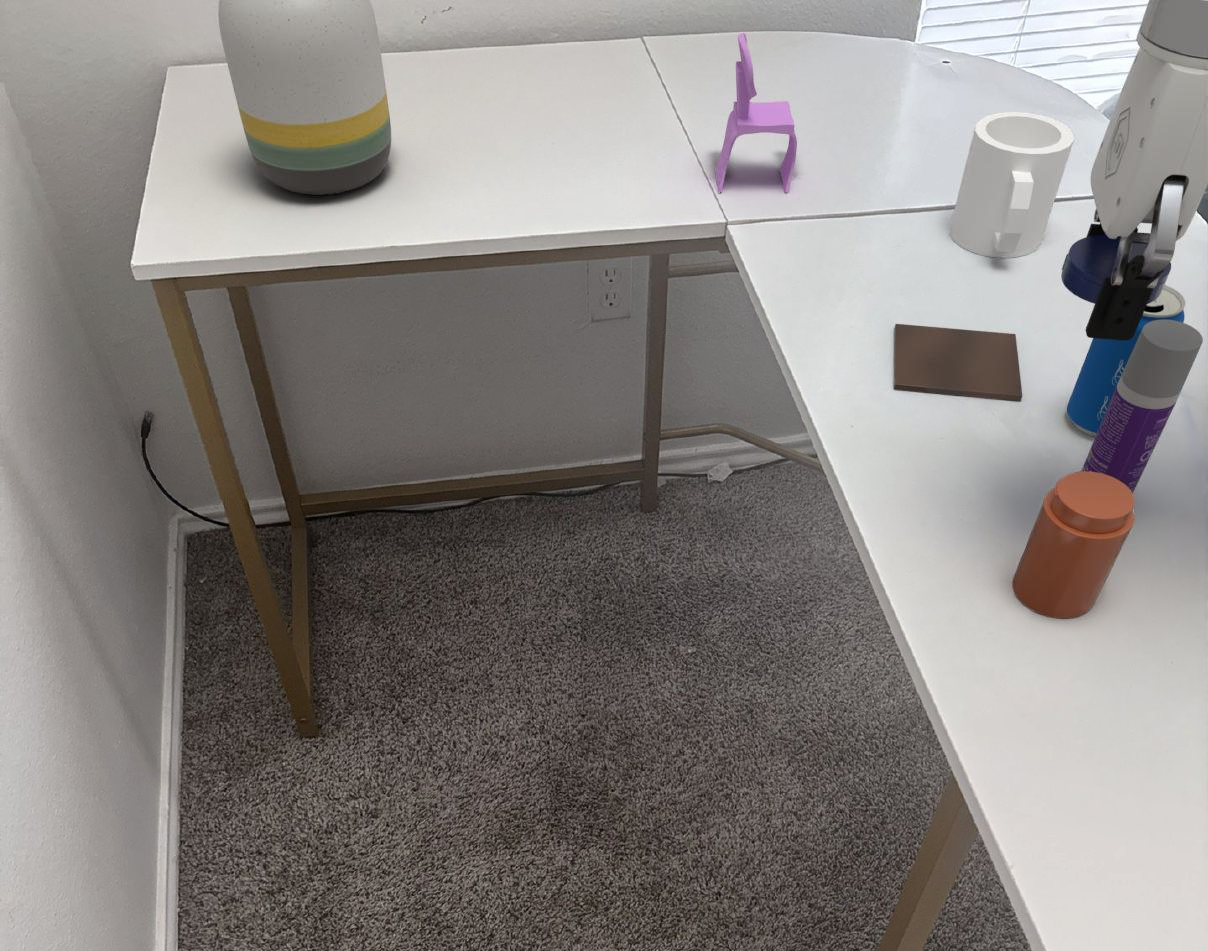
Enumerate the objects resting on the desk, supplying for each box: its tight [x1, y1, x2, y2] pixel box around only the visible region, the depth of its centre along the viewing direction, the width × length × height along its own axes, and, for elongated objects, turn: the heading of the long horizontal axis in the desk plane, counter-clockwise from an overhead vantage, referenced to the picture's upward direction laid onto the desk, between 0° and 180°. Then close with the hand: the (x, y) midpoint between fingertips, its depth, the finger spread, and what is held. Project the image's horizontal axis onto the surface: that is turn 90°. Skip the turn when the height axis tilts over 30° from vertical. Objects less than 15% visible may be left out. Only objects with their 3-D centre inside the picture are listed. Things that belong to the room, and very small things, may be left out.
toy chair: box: [714, 32, 798, 194], centre depth 125 cm, size 8×9×15 cm
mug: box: [949, 111, 1075, 259], centre depth 118 cm, size 14×10×11 cm
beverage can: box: [1065, 284, 1186, 438], centre depth 97 cm, size 6×6×12 cm
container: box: [1080, 320, 1204, 494], centre depth 89 cm, size 5×5×15 cm
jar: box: [1011, 471, 1136, 619], centre depth 84 cm, size 7×7×9 cm
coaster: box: [893, 323, 1023, 402], centre depth 107 cm, size 12×11×1 cm
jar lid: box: [1060, 234, 1172, 305], centre depth 76 cm, size 7×7×2 cm
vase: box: [217, 0, 392, 196], centre depth 122 cm, size 17×17×24 cm
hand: (1101, 306), depth 78 cm, fingers closed on jar lid, 6 cm apart
